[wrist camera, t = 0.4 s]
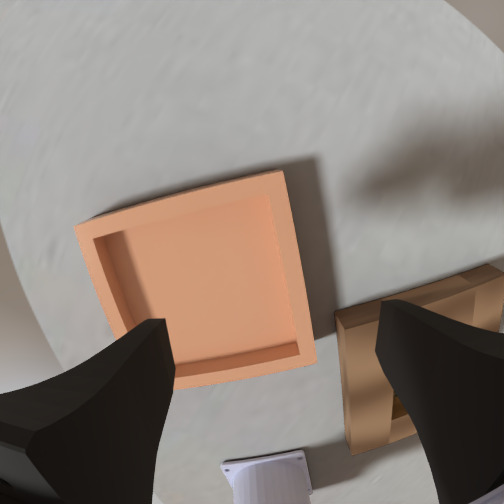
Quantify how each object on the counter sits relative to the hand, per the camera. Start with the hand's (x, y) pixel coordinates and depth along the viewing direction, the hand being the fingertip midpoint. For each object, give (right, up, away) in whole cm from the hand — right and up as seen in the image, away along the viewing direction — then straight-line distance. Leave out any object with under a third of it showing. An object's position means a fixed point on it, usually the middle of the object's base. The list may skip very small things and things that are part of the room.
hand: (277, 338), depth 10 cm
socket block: (+13, -6, +13) cm, 19 cm away
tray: (-4, +1, +10) cm, 11 cm away
